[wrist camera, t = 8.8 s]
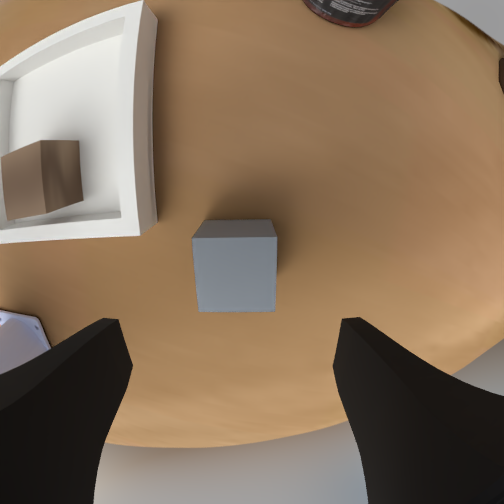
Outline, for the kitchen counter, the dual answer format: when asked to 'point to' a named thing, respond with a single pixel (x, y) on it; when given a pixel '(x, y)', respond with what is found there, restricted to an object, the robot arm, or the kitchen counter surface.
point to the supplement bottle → (350, 10)
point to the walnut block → (41, 178)
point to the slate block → (235, 265)
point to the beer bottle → (501, 73)
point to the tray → (88, 122)
